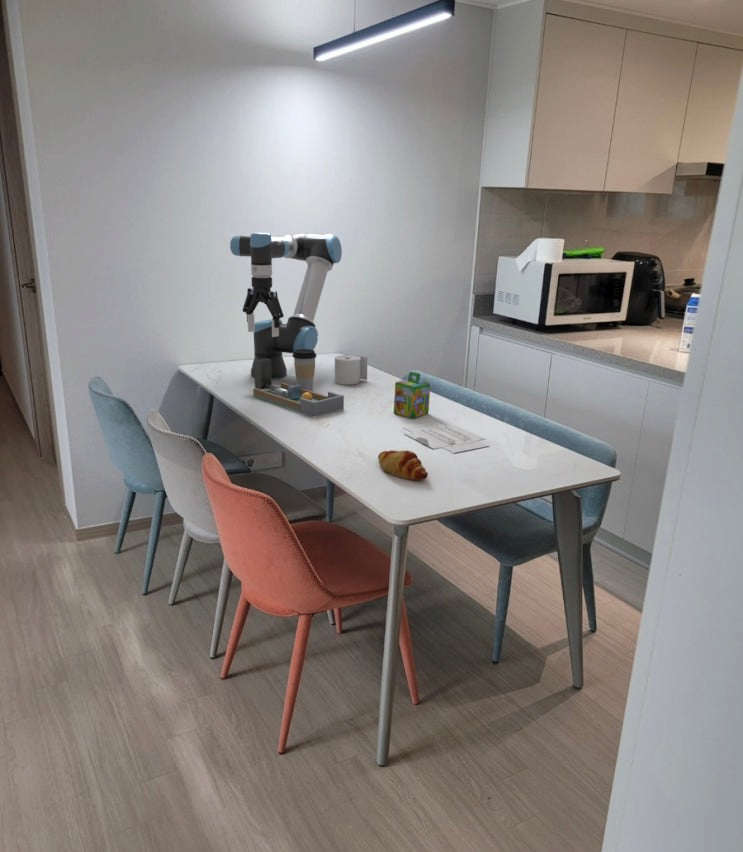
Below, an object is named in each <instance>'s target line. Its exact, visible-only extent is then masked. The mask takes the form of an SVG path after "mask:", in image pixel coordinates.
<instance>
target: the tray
mask: <svg viewBox="0 0 743 852" xmlns="http://www.w3.org/2000/svg"><path fill="white" fill-rule="evenodd" d="M402 429H404V430H406V431H407V432H409V433H404V435H405V436H408V437H410V438H411V439H414V440H416V441H418V442H420V443H422V444H424V445H425V446H427V447H430V448H431V449H433V450H437V449H438V450H439V449H444V450H446V451H447V452H449V453H452V454H456V453H460V452H465V451H471V450H474V449H480V448H485V447H489V445H488V444H486V443H484V442H481V441H483V440H485V439H486V438H485V437H483V436H480V435H478V434H476V433H473V432H471V431H469V430H467V429H465V428H463V427H461V426H458V425H456V424H454V425H445V424H442V423H440V422H437V421H431V422H426V423H425V422H424V423H419V424H413V425H407V426H403V427H402Z"/></svg>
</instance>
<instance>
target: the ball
mask: <svg viewBox="0 0 743 852" xmlns="http://www.w3.org/2000/svg"><path fill="white" fill-rule="evenodd" d="M301 398H304V399H307V400H310V401H312V395H311V394H310V393H309V392H305V393H303V394H302V397H301Z"/></svg>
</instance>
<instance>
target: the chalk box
mask: <svg viewBox="0 0 743 852" xmlns="http://www.w3.org/2000/svg"><path fill="white" fill-rule="evenodd" d="M413 377H415V378H413ZM407 378H408V379H403V380H398V381H396V382H394V383H395V385H394V399H393V400H394V402H393V414H395V415H399V416H402V417H406V418H408V419H412V420H413V419H416V418H419V417H422V416H426V415H429V410H430V396H431V395H430V394H431V383H430V382H427V381H425V380H420V378H421V374H420V373H419V372H418V373H417V372H413V371H409V374H408V377H407Z"/></svg>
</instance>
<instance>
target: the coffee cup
mask: <svg viewBox="0 0 743 852" xmlns="http://www.w3.org/2000/svg"><path fill="white" fill-rule="evenodd" d="M291 357H292V358H293V360H294V361H293V362H294V363H293V364H294V374H295V377H296V385H297V384H299V385H301V386H302V389H305V390H309V391H312V389H313V386H314V377H315V371H316V358H317V353H316V351H315V349H314V350H310V349H299V350H295V351H294V353H292V356H291Z"/></svg>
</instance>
